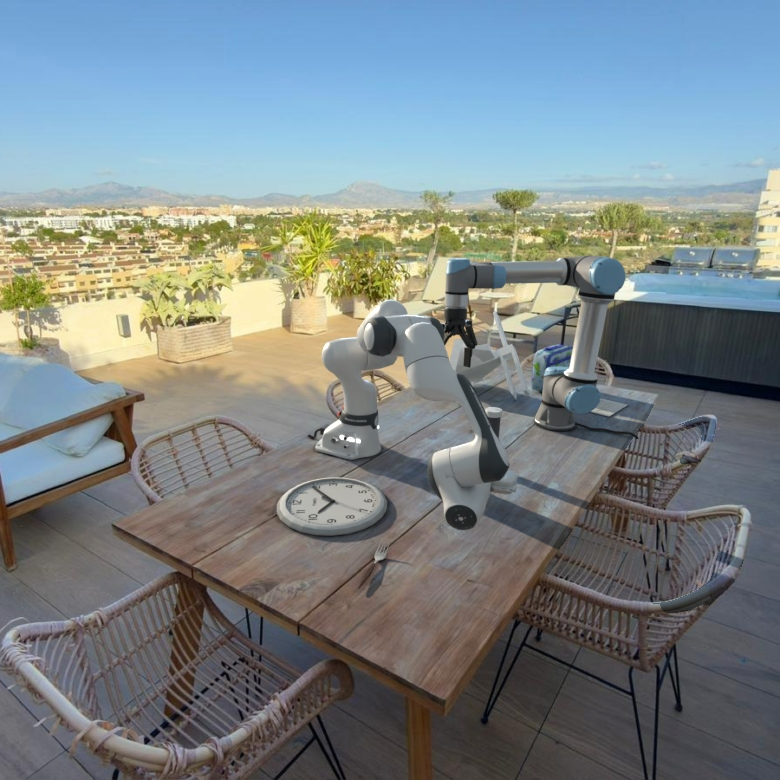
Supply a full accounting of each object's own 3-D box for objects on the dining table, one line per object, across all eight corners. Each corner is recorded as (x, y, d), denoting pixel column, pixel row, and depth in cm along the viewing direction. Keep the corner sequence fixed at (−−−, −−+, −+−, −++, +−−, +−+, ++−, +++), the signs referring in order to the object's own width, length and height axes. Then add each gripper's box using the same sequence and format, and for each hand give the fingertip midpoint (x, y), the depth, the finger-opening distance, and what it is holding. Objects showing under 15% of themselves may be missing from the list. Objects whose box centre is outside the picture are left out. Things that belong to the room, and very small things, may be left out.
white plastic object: (461, 429, 252) (437, 405, 227) (444, 352, 274) (420, 323, 250) (535, 404, 240) (518, 377, 215) (510, 326, 262) (492, 293, 237)
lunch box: (547, 397, 237) (552, 352, 231) (526, 391, 245) (531, 348, 238) (574, 386, 255) (580, 344, 249) (554, 381, 262) (559, 340, 256)
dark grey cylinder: (480, 470, 165) (485, 412, 159) (483, 464, 169) (487, 407, 163) (494, 472, 164) (499, 414, 158) (497, 466, 168) (502, 409, 162)
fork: (352, 589, 110) (352, 581, 109) (380, 547, 124) (380, 540, 123) (364, 592, 109) (364, 583, 108) (390, 550, 123) (390, 542, 123)
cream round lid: (483, 416, 160) (484, 411, 159) (486, 411, 164) (486, 406, 164) (500, 418, 158) (500, 413, 157) (502, 413, 162) (503, 408, 162)
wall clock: (392, 527, 129) (268, 531, 127) (391, 533, 130) (269, 537, 127) (383, 473, 158) (282, 475, 155) (383, 478, 158) (282, 480, 156)
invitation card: (608, 416, 214) (573, 407, 224) (608, 416, 214) (573, 408, 224) (628, 404, 229) (594, 396, 238) (628, 405, 229) (594, 397, 238)
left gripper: (516, 481, 125) (521, 459, 137) (433, 469, 131) (445, 448, 143) (514, 505, 127) (519, 480, 139) (432, 492, 133) (444, 469, 145)
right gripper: (474, 302, 181) (470, 362, 188) (419, 308, 167) (417, 372, 173) (490, 305, 176) (486, 366, 182) (435, 311, 161) (432, 377, 168)
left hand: (481, 464), depth 141 cm, fingers open, 8 cm apart
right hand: (452, 369), depth 178 cm, fingers open, 13 cm apart
